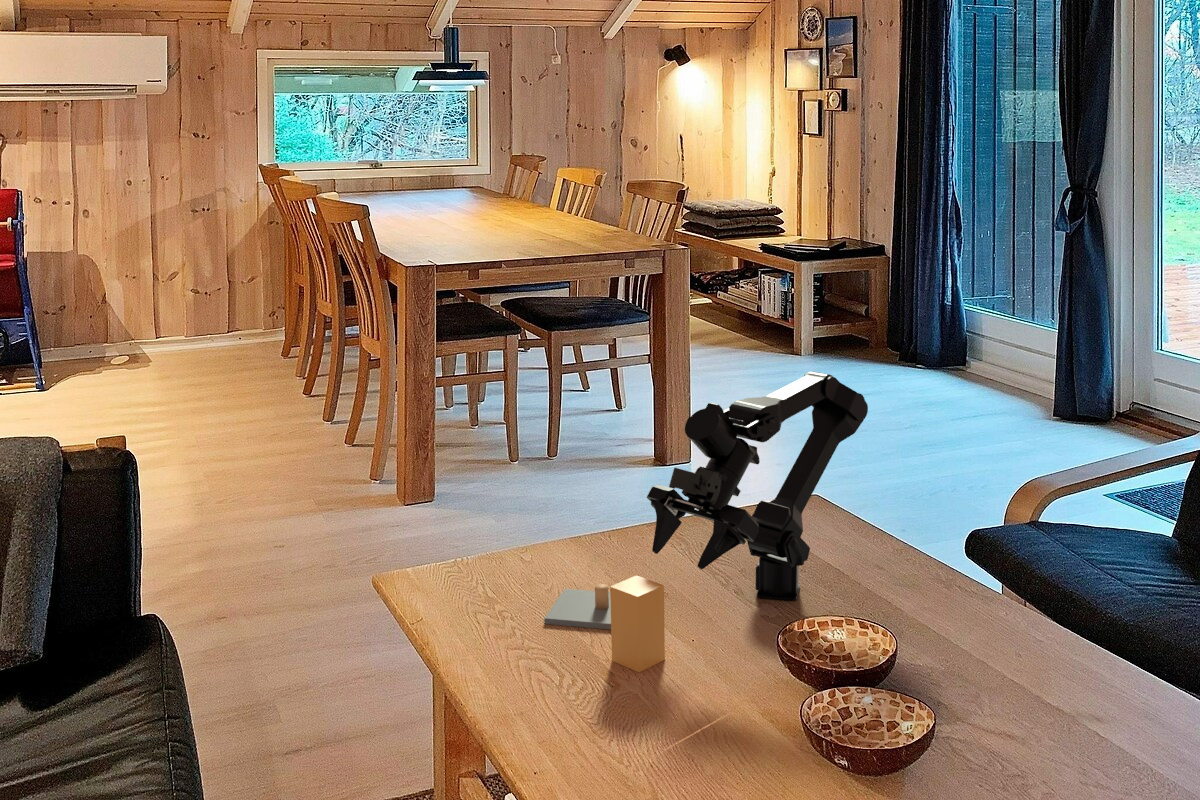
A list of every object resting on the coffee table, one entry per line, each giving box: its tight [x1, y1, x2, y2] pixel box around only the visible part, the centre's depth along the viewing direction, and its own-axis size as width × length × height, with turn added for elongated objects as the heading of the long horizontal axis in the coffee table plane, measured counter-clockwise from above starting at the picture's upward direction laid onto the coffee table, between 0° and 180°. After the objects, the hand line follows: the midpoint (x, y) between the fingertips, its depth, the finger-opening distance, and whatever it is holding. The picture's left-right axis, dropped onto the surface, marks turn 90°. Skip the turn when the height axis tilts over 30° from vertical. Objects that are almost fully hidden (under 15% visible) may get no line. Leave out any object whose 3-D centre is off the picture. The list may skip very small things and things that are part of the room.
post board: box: [543, 583, 611, 631], centre depth 210 cm, size 16×12×4 cm
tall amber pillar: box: [609, 575, 666, 673], centre depth 192 cm, size 6×6×12 cm
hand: (676, 560), depth 196 cm, fingers open, 9 cm apart
